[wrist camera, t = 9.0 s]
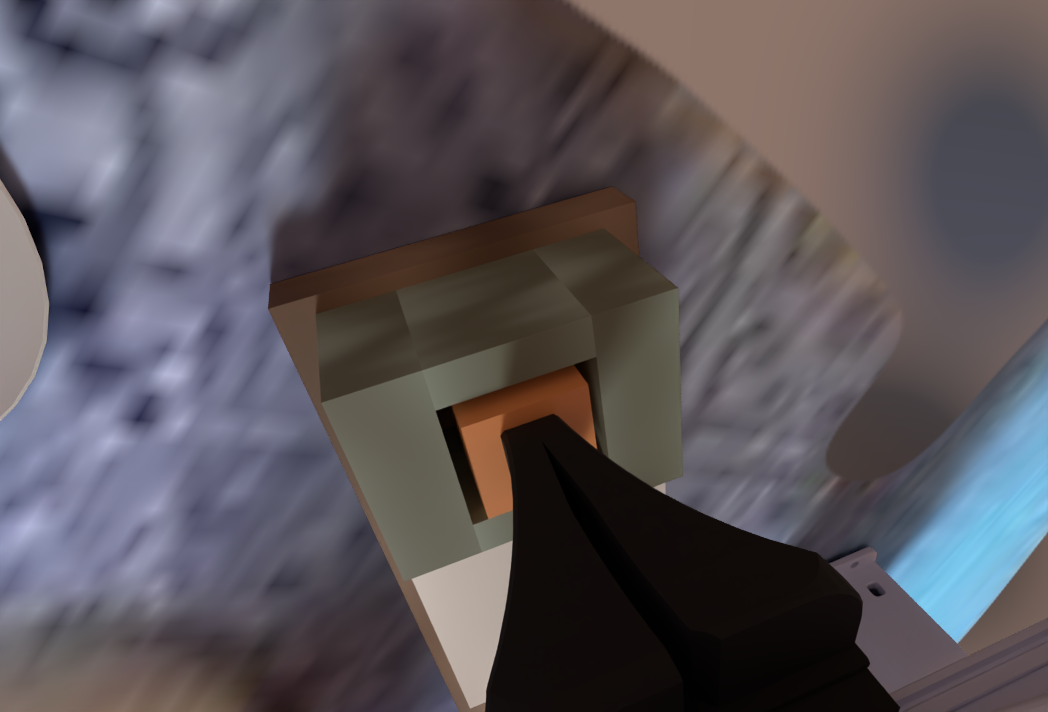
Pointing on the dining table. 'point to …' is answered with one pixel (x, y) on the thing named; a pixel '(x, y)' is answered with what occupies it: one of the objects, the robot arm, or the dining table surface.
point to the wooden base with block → (482, 366)
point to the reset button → (509, 409)
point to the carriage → (470, 613)
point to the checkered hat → (19, 305)
